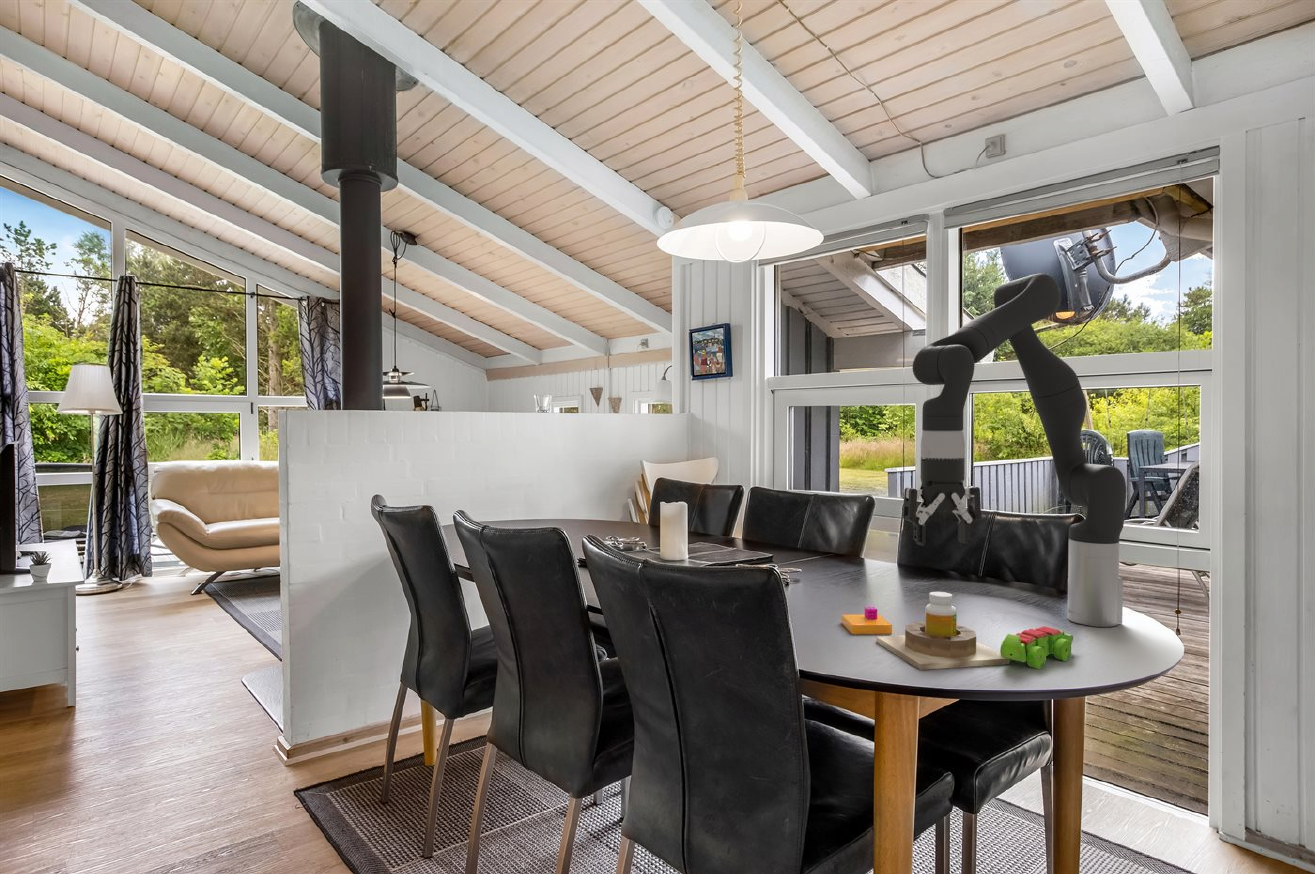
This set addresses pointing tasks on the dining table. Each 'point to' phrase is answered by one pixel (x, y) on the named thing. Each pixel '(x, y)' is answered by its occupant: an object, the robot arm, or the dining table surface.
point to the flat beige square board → (932, 662)
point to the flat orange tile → (867, 623)
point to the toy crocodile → (1037, 646)
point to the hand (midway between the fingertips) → (941, 543)
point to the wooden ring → (940, 642)
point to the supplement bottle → (940, 615)
